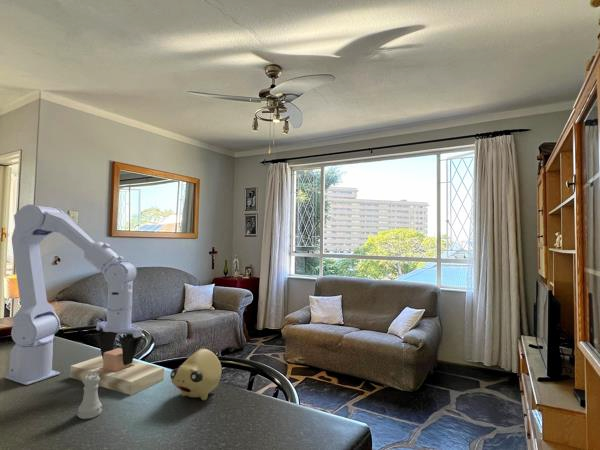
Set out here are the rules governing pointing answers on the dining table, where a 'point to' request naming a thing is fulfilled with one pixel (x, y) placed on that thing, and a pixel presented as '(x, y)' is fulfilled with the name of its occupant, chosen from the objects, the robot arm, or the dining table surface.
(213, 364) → the yellow toy creature
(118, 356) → the square peg
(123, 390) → the rail
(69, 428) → the dining table surface
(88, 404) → the rook chess piece
